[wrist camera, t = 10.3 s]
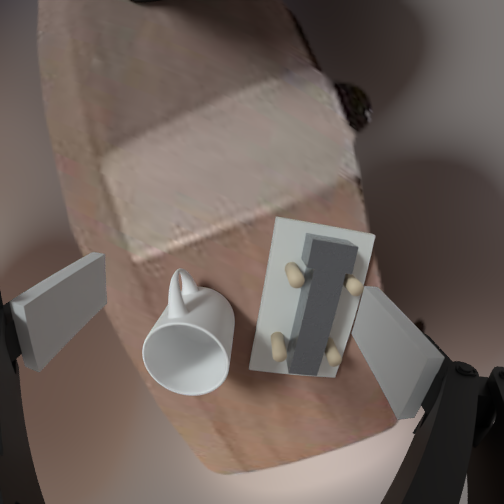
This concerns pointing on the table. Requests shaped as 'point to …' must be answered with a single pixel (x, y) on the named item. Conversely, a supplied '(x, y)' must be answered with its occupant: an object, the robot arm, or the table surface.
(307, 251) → the grey bar
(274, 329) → the rack
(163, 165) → the table surface
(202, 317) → the mug
